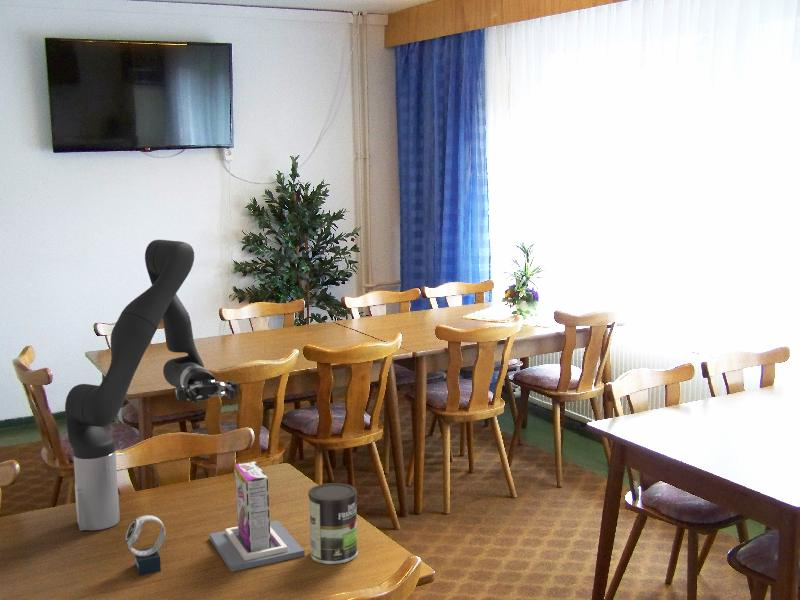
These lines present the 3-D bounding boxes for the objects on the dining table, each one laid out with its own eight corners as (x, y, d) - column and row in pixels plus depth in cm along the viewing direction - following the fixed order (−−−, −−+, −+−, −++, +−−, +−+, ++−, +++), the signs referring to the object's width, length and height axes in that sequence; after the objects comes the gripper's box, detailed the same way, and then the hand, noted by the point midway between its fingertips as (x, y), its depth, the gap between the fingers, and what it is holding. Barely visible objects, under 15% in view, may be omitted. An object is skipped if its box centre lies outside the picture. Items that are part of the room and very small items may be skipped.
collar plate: (231, 571, 173) (230, 561, 172) (209, 538, 189) (209, 529, 188) (304, 555, 180) (304, 545, 179) (277, 525, 196) (277, 516, 195)
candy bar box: (236, 534, 188) (233, 463, 186) (258, 530, 190) (255, 460, 188) (248, 554, 178) (245, 480, 176) (271, 549, 180) (269, 476, 178)
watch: (125, 566, 176) (122, 516, 174) (164, 558, 179) (161, 509, 178) (129, 577, 171) (126, 526, 169) (169, 569, 174) (166, 518, 173)
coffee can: (367, 550, 182) (366, 487, 180) (339, 569, 174) (337, 503, 172) (329, 539, 188) (327, 479, 186) (300, 557, 179) (298, 494, 177)
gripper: (168, 370, 207) (182, 384, 193) (225, 364, 213) (243, 377, 199) (169, 400, 208) (183, 416, 194) (226, 393, 214) (244, 408, 200)
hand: (213, 396), depth 196 cm, fingers open, 8 cm apart
